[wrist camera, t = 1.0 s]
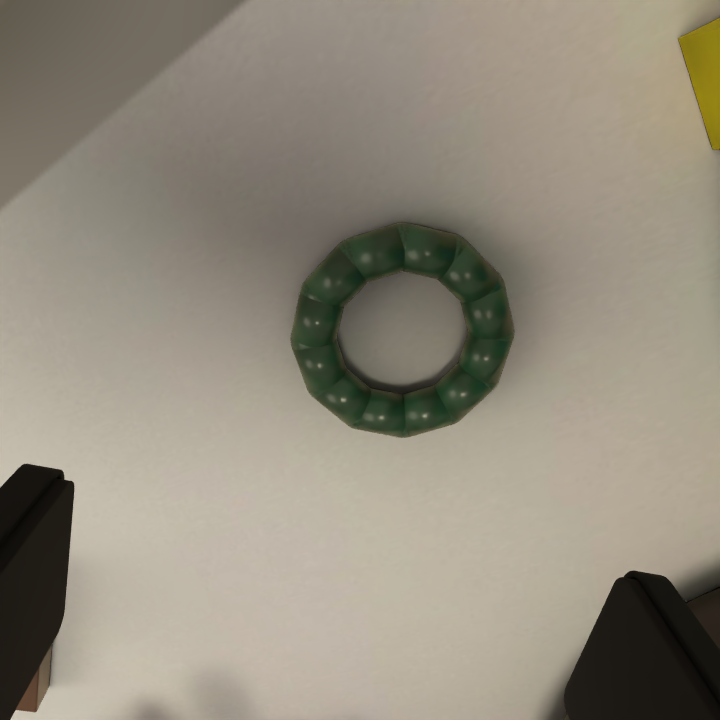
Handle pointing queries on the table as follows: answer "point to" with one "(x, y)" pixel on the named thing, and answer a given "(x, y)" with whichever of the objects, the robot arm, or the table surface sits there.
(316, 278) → the ring
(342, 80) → the table surface
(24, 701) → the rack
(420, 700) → the table surface
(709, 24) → the toy construction frame
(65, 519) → the robot arm
